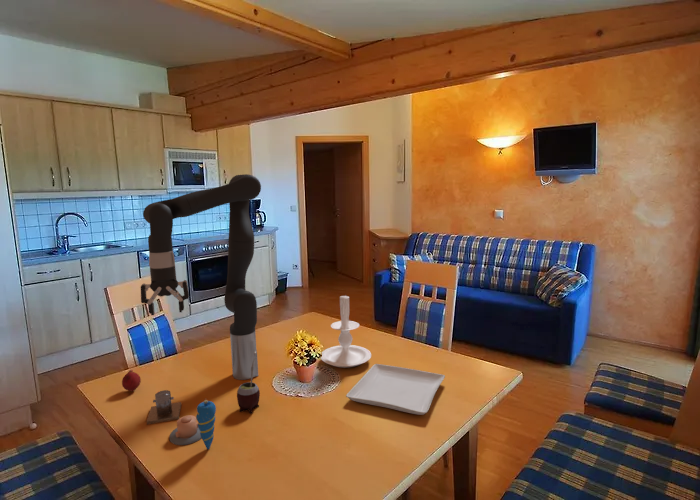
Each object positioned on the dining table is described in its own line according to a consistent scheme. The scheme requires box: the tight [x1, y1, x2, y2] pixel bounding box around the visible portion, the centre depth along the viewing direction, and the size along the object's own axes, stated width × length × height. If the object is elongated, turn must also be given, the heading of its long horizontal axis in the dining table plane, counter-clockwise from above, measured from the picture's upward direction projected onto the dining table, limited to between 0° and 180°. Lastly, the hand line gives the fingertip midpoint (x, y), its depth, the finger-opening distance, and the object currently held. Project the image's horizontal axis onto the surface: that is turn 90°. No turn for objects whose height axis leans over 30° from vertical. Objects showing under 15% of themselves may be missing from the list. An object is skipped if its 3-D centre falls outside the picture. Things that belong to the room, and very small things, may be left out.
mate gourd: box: [236, 358, 261, 415], centre depth 134 cm, size 8×8×15 cm
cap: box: [175, 414, 198, 438], centre depth 121 cm, size 5×7×5 cm
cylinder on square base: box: [146, 389, 182, 425], centre depth 132 cm, size 9×9×7 cm
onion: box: [121, 369, 142, 392], centre depth 147 cm, size 6×6×8 cm
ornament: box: [195, 398, 217, 450], centre depth 113 cm, size 5×5×15 cm
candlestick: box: [320, 295, 372, 368], centre depth 168 cm, size 21×25×28 cm
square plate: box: [345, 363, 446, 416], centre depth 142 cm, size 27×27×4 cm
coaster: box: [169, 427, 202, 446], centre depth 121 cm, size 10×10×1 cm
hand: (167, 313), depth 137 cm, fingers open, 8 cm apart
